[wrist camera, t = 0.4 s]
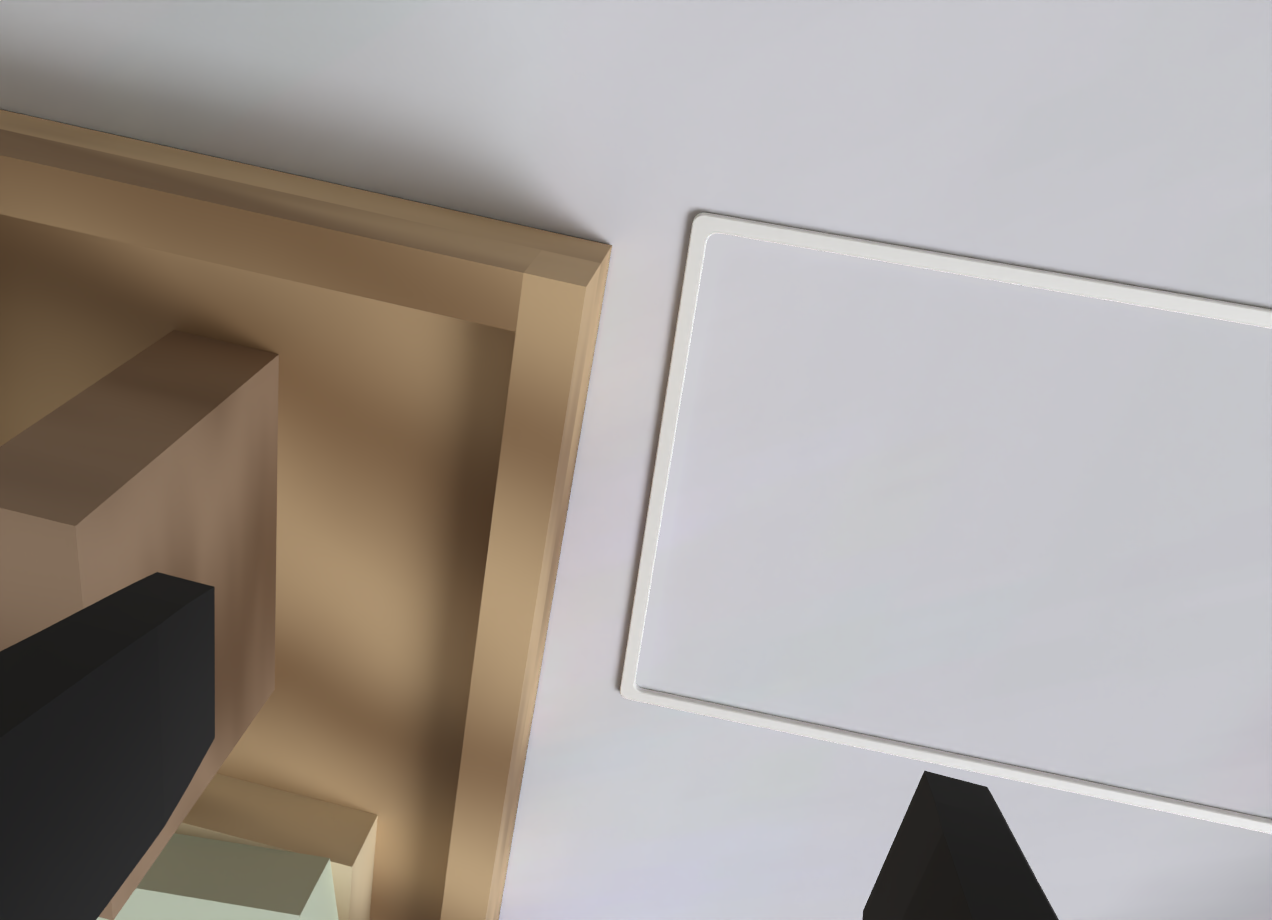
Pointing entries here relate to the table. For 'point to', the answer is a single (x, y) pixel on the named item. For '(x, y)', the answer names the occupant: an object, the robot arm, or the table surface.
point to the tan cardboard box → (155, 516)
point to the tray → (344, 456)
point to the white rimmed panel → (699, 235)
